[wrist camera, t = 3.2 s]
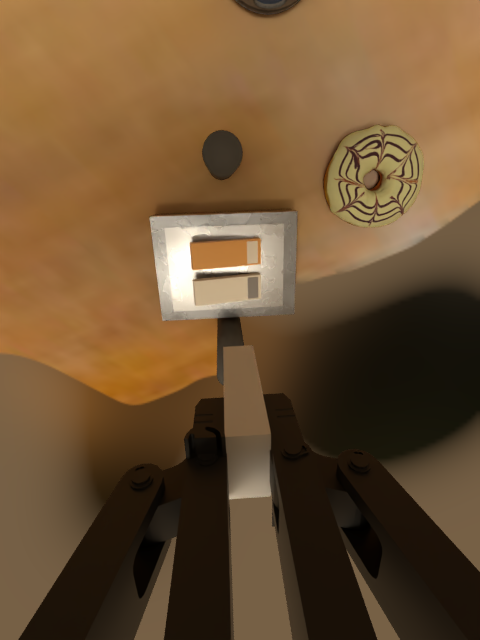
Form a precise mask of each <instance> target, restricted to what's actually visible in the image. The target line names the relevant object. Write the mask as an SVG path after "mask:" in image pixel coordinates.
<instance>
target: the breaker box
mask: <svg viewBox="0 0 480 640" xmlns="http://www.w3.org/2000/svg"><path fill="white" fill-rule="evenodd" d="M149 218H150V226H151V234H152V242H153V250H154V257H155V265H156V273H157V281H158V289H159V297H160V305H161V313H162V321H169V320H188V319H208V318H228V317H246V316H247V317H248V316H268V315H287V314H294V308H295V307H294V306H295V275H296V243H297V211H295V210H292V209H280V210H253V211H225V212H198V213H171V214H155V215H152V216H150V217H149ZM243 238H261V264H258V265H247V266H237V267H226V268H216V269H205V270H195V271H193V270H192V268H191V256H190V244H189V242H202V241H216V240H229V239H243ZM251 273H259V274H261V299H252V300H244V301H236V302H228V303H220V304H211V305H203V306H196V305H195V302H194V291H193V279H202V278H212V277H222V276H232V275H241V274H251Z"/></svg>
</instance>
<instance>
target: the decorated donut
mask: <svg viewBox="0 0 480 640" xmlns="http://www.w3.org/2000/svg"><path fill="white" fill-rule="evenodd" d="M372 169H374V170H375V171H378V173H379V175H380V181H379V183H378V184H377V186H376V187H374V188H373V189H371V190H367V189H366V188H365V185H364V183H363V178H364V176H365V175H366V174H367V173H369V172H370V171H371V170H372ZM423 169H424V159H423V153H422V151H421V149H420V147H419V146H418V144H417V142H416V141H415V140H414V139H413V138H412V137H411V136H410V135H409V134H407V133H405V132H404V131H402V130H401V129H400V128H399V127H398V126H393V125H390V126H384V127H383V126H380V125H375V126H372V127H370V128H368V129H364V130H360V131H355V132H353V133H351V134H349V135H348V136H346V137H345V138H344V139H343V140H342V141H341V143H340V144H339V146H338V149H337V151H336V152H335V154H334V156H333V157H332V159H331V162H330V163H329V165H328V168H327V170H326V173H325V177H324V191H325V197H326V200H327V202H328V204H329V206H330V210H331V212H332V213H334V214H335V215H337V216H338V217H339V218H341V219H342V220H344V221H346V222H347V223H350V224H352V225H355V226H358V227H381V226H384V225H388V224H390V223H392V222H394V221H396V220H397V219H398V218H399V217H400V216H402V215H403V214H404V213H406V212H407V210H408V209H409V208H410V207H411V206H412V205H413V203H414V202H415V199H416V197H417V195H418V193H419V191H420V187H421V182H422V175H423Z"/></svg>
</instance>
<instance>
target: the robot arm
mask: <svg viewBox="0 0 480 640" xmlns="http://www.w3.org/2000/svg"><path fill="white" fill-rule="evenodd" d="M223 365H224V398H208V399H201V400H200V401H199V403H198V404H197V405H196V407H195V417H194V425H193V428H192V429H191V430H190V431H189V432H188V433H187V434H186V436H185V438H184V442H185V451H186V459H185V460H184V461H183V462H182V463H180V464H178V465H176V466H174V467H172V468H169V469H166V470H163V471H162V470H161V469H160V468H159V467H158V466H157V465H154V464H140V465H137V466H135V467H133V468H131V469H130V470H128V471H127V472H126V473H125V474H124V475H123V476H122V478H121V479H120V481H119V482H118V484H117V486H116V487H115V489H114V490H113V492H112V493H111V495H110V497H109V498H108V500H107V501H106V503H105V504H104V506H103V507H102V509H101V511H100V512H99V514H98V515H97V517H96V518H95V520H94V522H93V523H92V525H91V527H90V528H89V530H88V531H87V533H86V534H85V536H84V537H83V539H82V540H81V542H80V544H79V545H78V547H77V548H76V550H75V552H74V553H73V555H72V556H71V558H70V559H69V561H68V563H67V564H66V566H65V567H64V569H63V571H62V572H61V574H60V575H59V577H58V578H57V580H56V581H55V583H54V585H53V586H52V588H51V589H50V591H49V593H48V594H47V596H46V597H45V599H44V600H43V602H42V604H41V605H40V607H39V608H38V610H37V611H36V613H35V614H34V616H33V618H32V619H31V621H30V622H29V624H28V625H27V627H26V629H25V630H24V632H23V633H22V635H21V636H20V638H19V640H134V638H135V635H136V632H137V630H138V627H139V624H140V622H141V619H142V617H143V614H144V611H145V609H146V606H147V603H148V601H149V598H150V596H151V593H152V590H153V588H154V585H155V583H156V580H157V577H158V575H159V572H160V569H161V567H162V564H163V561H164V559H165V556H166V553H167V551H168V548H169V546H170V543H171V539H172V538H174V537H176V536H177V539H176V547H175V555H174V564H173V571H172V580H171V588H170V596H169V604H168V612H167V620H166V628H165V636H164V640H234V633H233V632H234V631H233V598H232V568H231V536H230V535H231V534H230V507H229V499H238V498H253V497H267V496H271V493H272V526H275V529H276V537H277V542H278V549H279V556H280V562H281V569H282V575H283V581H284V588H285V594H286V600H287V607H288V612H289V619H290V626H291V632H292V638H293V640H377V637H376V634H375V632H374V629H373V626H372V623H371V620H370V617H369V614H368V611H367V608H366V606H365V603H364V600H363V597H362V594H361V591H360V588H359V585H358V582H357V579H356V577H355V574H354V571H353V568H352V565H351V562H350V559H349V557H348V554H347V551H348V553H349V554H350V556H351V558H352V559H353V561H354V563H355V564H356V566H357V568H358V570H359V571H360V573H361V574H362V576H363V578H364V579H365V581H366V583H367V584H368V586H369V588H370V590H371V591H372V593H373V595H374V596H375V598H376V600H377V601H378V603H379V605H380V606H381V608H382V610H383V611H384V613H385V615H386V616H387V618H388V620H389V621H390V623H391V625H392V626H393V628H394V630H395V632H396V633H397V635H398V637H399V638H400V640H480V572H479V571H478V570H477V569H476V567H475V566H474V565H473V564H472V563H471V562H470V561H469V560H468V559H467V558H466V556H465V555H464V554H463V553H462V552H461V551H460V550H459V549H458V548H457V547H456V545H455V544H454V543H453V542H452V541H451V540H450V539H449V538H448V537H447V536H446V535H445V534H444V532H443V531H442V530H441V529H440V528H439V527H438V526H437V525H436V524H435V523H434V521H433V520H432V519H431V518H430V517H429V516H428V515H427V514H426V513H425V512H424V510H423V509H422V508H421V507H420V506H419V505H418V504H417V503H416V502H415V501H414V499H413V498H412V497H411V496H410V495H409V494H408V493H407V492H406V491H405V490H404V488H402V486H401V485H400V484H399V483H398V482H397V481H396V480H395V479H394V478H393V476H392V475H391V474H390V473H389V472H388V471H387V470H386V469H385V468H384V467H383V466H382V464H381V463H380V462H379V461H378V460H377V459H376V458H375V457H373V456H372V455H371V454H369V453H367V452H365V451H361V450H357V449H350V450H346V451H344V452H341V454H340V455H339V456H338V459H336V458H331V457H326V456H322V455H319V454H317V453H315V452H313V451H312V450H311V448H310V447H309V445H307V444H306V443H305V442H304V440H303V436H302V433H301V431H300V428H299V424H298V421H297V419H296V416H295V412H294V410H293V407H292V403H291V400H290V399H289V398H288V397H287V396H286V395H285V394H283V393H280V394H263V393H262V388H261V383H260V378H259V373H258V368H257V363H256V358H255V354H254V349H253V345H250V346H231V347H223ZM346 549H347V550H346Z"/></svg>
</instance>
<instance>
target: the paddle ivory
mask: <svg viewBox="0 0 480 640" xmlns="http://www.w3.org/2000/svg"><path fill="white" fill-rule="evenodd" d="M193 291H194V302H195V305H196V306H203V305H211V304H220V303H228V302H236V301H244V300H252V299H261V274H259V273H251V274H241V275H232V276H222V277H212V278H202V279H193Z"/></svg>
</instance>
